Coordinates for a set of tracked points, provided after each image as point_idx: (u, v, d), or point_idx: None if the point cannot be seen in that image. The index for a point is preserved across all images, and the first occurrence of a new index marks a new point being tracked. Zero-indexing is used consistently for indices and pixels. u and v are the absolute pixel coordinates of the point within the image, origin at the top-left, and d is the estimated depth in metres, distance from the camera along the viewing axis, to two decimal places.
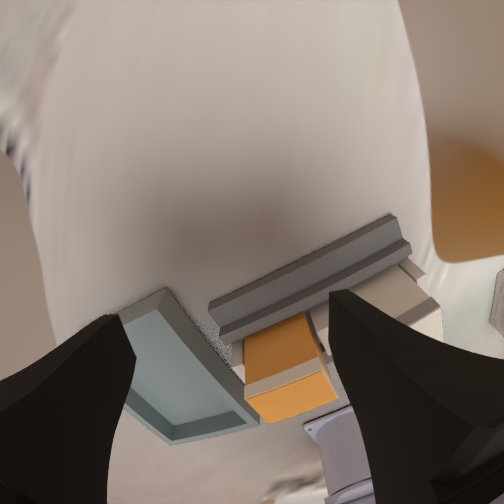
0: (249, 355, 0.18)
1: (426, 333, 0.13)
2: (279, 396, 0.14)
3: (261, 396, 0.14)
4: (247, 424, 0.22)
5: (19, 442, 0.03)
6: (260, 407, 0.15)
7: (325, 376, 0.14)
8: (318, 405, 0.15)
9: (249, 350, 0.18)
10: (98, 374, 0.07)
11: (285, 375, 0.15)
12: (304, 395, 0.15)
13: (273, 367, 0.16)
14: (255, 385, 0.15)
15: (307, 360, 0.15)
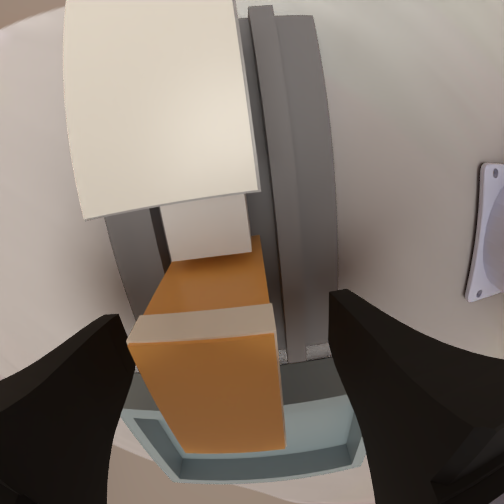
0: None
1: (125, 14, 0.03)
2: (190, 423, 0.06)
3: (182, 438, 0.07)
4: None
5: (19, 442, 0.03)
6: (220, 445, 0.07)
7: (154, 343, 0.05)
8: (277, 375, 0.06)
9: None
10: (98, 374, 0.07)
11: None
12: (207, 394, 0.06)
13: None
14: None
15: None
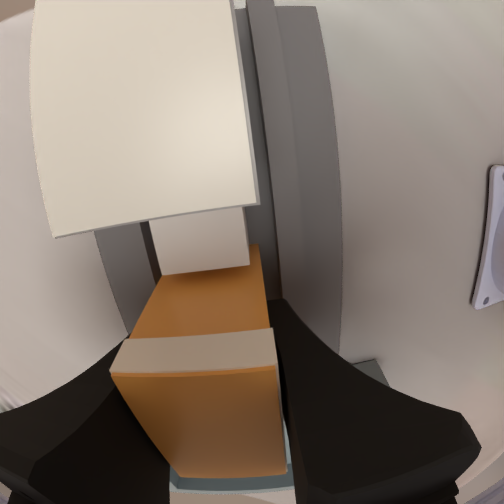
0: None
1: None
2: (184, 451, 0.05)
3: (176, 464, 0.06)
4: None
5: (89, 466, 0.03)
6: (216, 470, 0.06)
7: (140, 373, 0.05)
8: (278, 408, 0.05)
9: None
10: None
11: None
12: (201, 425, 0.05)
13: None
14: None
15: None
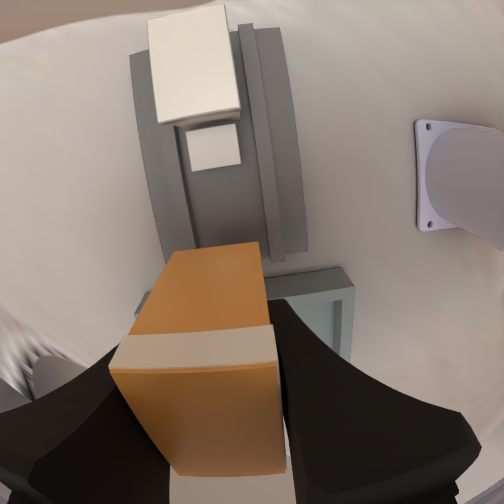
0: None
1: (180, 35, 0.08)
2: (183, 449, 0.05)
3: (175, 462, 0.06)
4: (344, 300, 0.17)
5: (89, 465, 0.03)
6: (215, 468, 0.06)
7: (139, 370, 0.05)
8: (277, 405, 0.05)
9: None
10: None
11: None
12: (200, 423, 0.05)
13: None
14: None
15: None
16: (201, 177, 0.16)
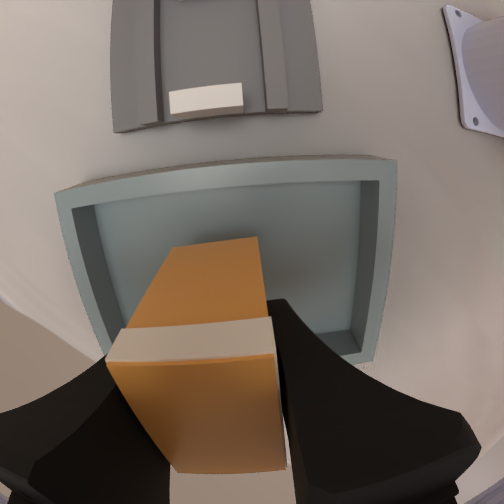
0: None
1: None
2: (181, 445, 0.05)
3: (173, 459, 0.06)
4: (383, 182, 0.10)
5: (89, 465, 0.03)
6: (214, 465, 0.06)
7: (136, 362, 0.05)
8: (276, 398, 0.05)
9: None
10: None
11: None
12: (198, 417, 0.05)
13: None
14: None
15: None
16: (180, 10, 0.09)
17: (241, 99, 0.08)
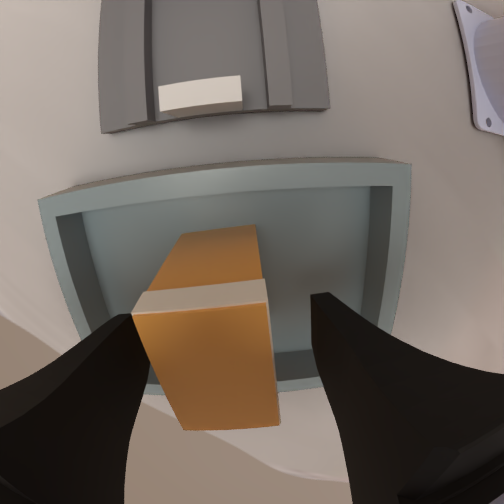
0: None
1: None
2: (189, 396, 0.07)
3: (181, 413, 0.07)
4: (396, 188, 0.09)
5: (36, 449, 0.03)
6: (216, 421, 0.08)
7: (157, 313, 0.06)
8: (269, 346, 0.06)
9: None
10: (114, 375, 0.07)
11: None
12: (205, 364, 0.07)
13: None
14: None
15: None
16: (174, 0, 0.08)
17: (240, 94, 0.07)
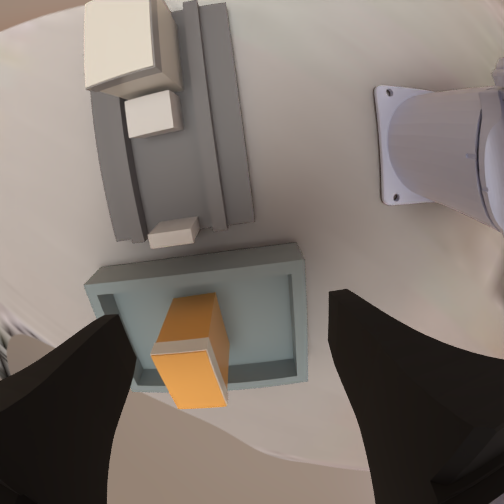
0: None
1: (109, 11, 0.07)
2: (179, 390, 0.15)
3: (176, 399, 0.15)
4: (294, 274, 0.17)
5: (19, 442, 0.03)
6: (194, 403, 0.15)
7: (161, 354, 0.14)
8: (211, 367, 0.14)
9: None
10: (98, 374, 0.07)
11: None
12: (184, 375, 0.14)
13: None
14: None
15: None
16: (146, 147, 0.15)
17: (191, 239, 0.15)
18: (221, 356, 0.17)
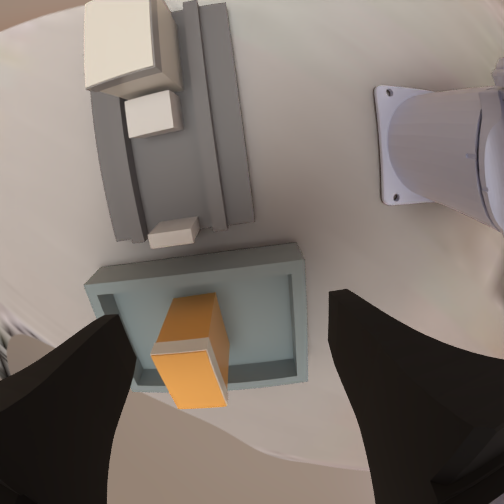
0: None
1: (109, 11, 0.07)
2: (179, 390, 0.15)
3: (176, 399, 0.15)
4: (294, 274, 0.17)
5: (19, 442, 0.03)
6: (194, 403, 0.15)
7: (161, 354, 0.14)
8: (211, 367, 0.14)
9: None
10: (98, 374, 0.07)
11: None
12: (184, 375, 0.14)
13: None
14: None
15: None
16: (146, 147, 0.15)
17: (191, 239, 0.15)
18: (221, 356, 0.17)
